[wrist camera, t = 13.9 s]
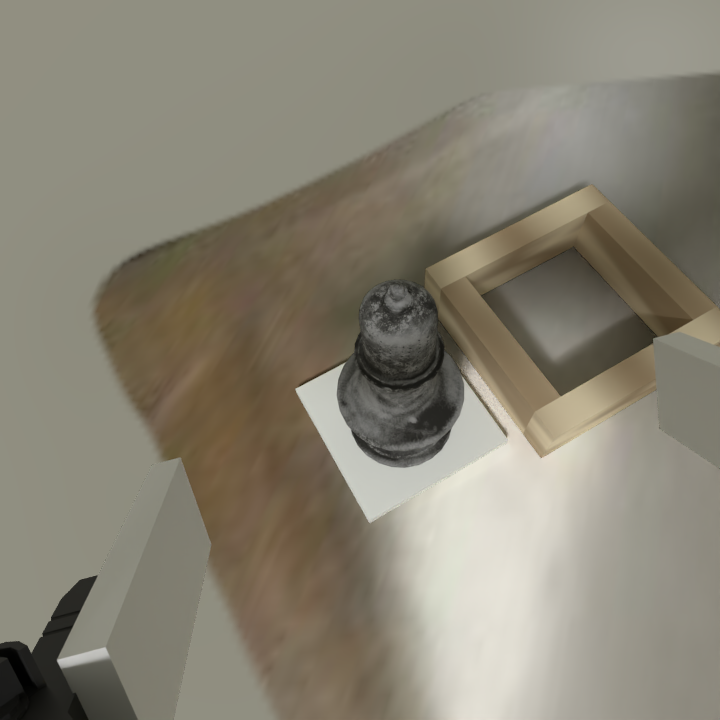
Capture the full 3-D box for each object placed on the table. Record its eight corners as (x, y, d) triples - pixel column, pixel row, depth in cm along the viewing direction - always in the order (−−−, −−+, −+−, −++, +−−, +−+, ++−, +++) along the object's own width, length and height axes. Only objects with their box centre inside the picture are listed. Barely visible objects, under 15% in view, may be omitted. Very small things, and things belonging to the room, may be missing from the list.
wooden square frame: (577, 219, 36) (592, 184, 33) (711, 356, 31) (740, 328, 28) (423, 299, 34) (425, 268, 31) (541, 458, 29) (555, 438, 27)
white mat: (422, 326, 33) (423, 321, 33) (506, 443, 30) (508, 439, 29) (296, 392, 32) (295, 389, 31) (369, 523, 28) (369, 521, 28)
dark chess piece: (356, 359, 32) (331, 208, 21) (465, 375, 31) (496, 226, 20) (332, 462, 29) (290, 349, 19) (450, 483, 28) (476, 377, 18)
